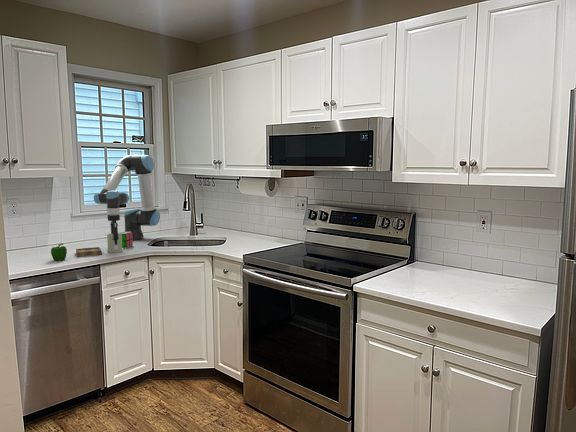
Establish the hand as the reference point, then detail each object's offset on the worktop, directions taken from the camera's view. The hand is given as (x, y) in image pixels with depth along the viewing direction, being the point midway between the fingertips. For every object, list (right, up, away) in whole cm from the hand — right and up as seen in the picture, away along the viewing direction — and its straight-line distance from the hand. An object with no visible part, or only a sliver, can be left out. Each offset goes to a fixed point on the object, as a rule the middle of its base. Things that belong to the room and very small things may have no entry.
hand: (115, 248), depth 292 cm
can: (0, -2, 0) cm, 2 cm away
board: (-14, -3, -8) cm, 16 cm away
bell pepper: (-23, -5, -27) cm, 36 cm away
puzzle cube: (-1, 0, +18) cm, 18 cm away
